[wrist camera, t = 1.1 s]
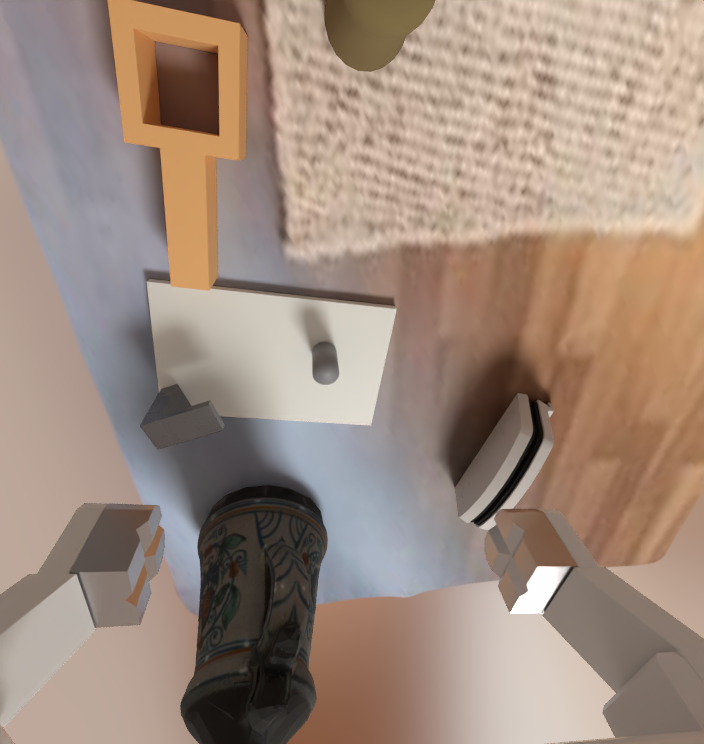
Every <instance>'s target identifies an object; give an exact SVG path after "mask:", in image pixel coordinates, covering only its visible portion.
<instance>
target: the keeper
mask: <svg viewBox="0 0 704 744" xmlns="http://www.w3.org/2000/svg"><path fill="white" fill-rule="evenodd" d="M224 426H225V424H224V422H223V421H222V419H221V417H220V416H219V414H218V412H217V411H216V409H215V407H214V406H213V404H212V402H211V401H210V400H209V401H206V402H203V403H199V404H196V405H193V406H191V404H190V403H189V401H188V399H187V398H186V396H185V395H184V393H183V392H182V390H181V389H180V387H179V385H178V384H175V385H172V386H169V387H166V388H162V389H161V390H160V392H159V394H158V396H157V397H156V399H155V401H154V403H153V404H152V406H151V408H150V410H149V411H148V413H147V415H146V417H145V418H144V420H143V422H142V424H141V425H140V427H141V428H142V429H143V431H144V432H145V433H146V434H147V436H148V437H149V438H150V440H151V441H152V442H153V444H154V445H155V446H156V448H157V449H161V448H165V447H168V446H171V445H175V444H178V443H181V442H185V441H188V440H191V439H195V438H198V437H202V436H205V435H208V434H212V433H215V432H218V431H222V430H224Z"/></svg>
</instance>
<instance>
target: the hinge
mask: <svg viewBox="0 0 704 744" xmlns="http://www.w3.org/2000/svg"><path fill="white" fill-rule="evenodd" d="M553 412H554V409H553V407H552V404H551V403H549V402H548V403H547V404H544V403H543V402H541V401H540V400H537V401H536V402H535V401H533V403H532V404H531V403H530V399H528V395H526V394H522V393H517V395H516V396H515V398H514V399H513V401H512V402H511V404H510V405H509V407H508V408H507V410H506V411H505V413H504V414H503V416H502V417H501V419H500V420H499V422H498V423H497V425H496V426H495V428H494V429H493V431H492V432H491V434H490V435H489V437H488V438H487V440H486V441H485V443H484V444H483V446H482V448H481V449H480V451H479V452H478V454H477V455H476V457H475V458H474V460H473V461H472V463H471V464H470V466H469V467H468V469H467V470H466V472H465V473H464V475H463V476H462V478H461V479H460V481H459V482H458V484H457V485H456V487H455V493H456V501H457V510H458V516H459V517H460V518H461V519H463V520H464V521H465V522H467V523H469V522H473V521H474V524H476V526H477V527H478V528H482V529H486V530H489V529H490V528H492V527H493V526H495V525H496V522H495V520H494V517H495V515H496V513H497V512H498V511H499V510H501V509H513V507H514V506H515V505H516V504H517V503H518V501H519V500H520V499H521V497H522V496H523V495H524V493H525V492H526V491H527V489H528V488H529V487H530V485H531V483H532V482H533V480H534V479H535V477H536V476H537V474H538V472H539V471H540V469H541V467H542V466H543V464H544V462H545V460H546V458H547V456H548V454H549V453H550V451H551V449H552V447H553V444H554V436H553V432H552V428H551V423H550V419H549V417H550V416H551V415H552V413H553Z"/></svg>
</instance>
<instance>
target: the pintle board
mask: <svg viewBox="0 0 704 744" xmlns="http://www.w3.org/2000/svg"><path fill="white" fill-rule="evenodd" d="M147 289H148V298H149V307H150V316H151V325H152V334H153V343H154V352H155V362H156V371H157V380H158V389H159V392H160V390H161V389H162V388H166V387H169V386H172V385H175V384H178V385H179V387H180V389H181V390H182V392H183V393H184V395H185V396H186V398H187V399H188V401H189V403H190V404H191V406H193V405H196V404H199V403H203V402H206V401H209V400H210V401H211V402H212V404H213V406H214V407H215V409H216V411H217V412H218V414H219V416H224V417H241V418H257V419H273V420H290V421H306V422H323V423H339V424H356V425H371V423H372V418H373V414H374V409H375V405H376V400H377V396H378V391H379V387H380V382H381V378H382V373H383V369H384V364H385V360H386V355H387V350H388V346H389V341H390V337H391V332H392V328H393V323H394V319H395V314H396V310H397V309H396V307H395V306H390V305H381V304H372V303H363V302H354V301H345V300H336V299H327V298H318V297H309V296H300V295H291V294H282V293H273V292H264V291H255V290H246V289H237V288H228V287H219V286H212V287H211V288H210V290H209V291H207V290H198V289H189V288H180V287H171V281H165V280H156V279H149V280H148V281H147Z"/></svg>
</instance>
